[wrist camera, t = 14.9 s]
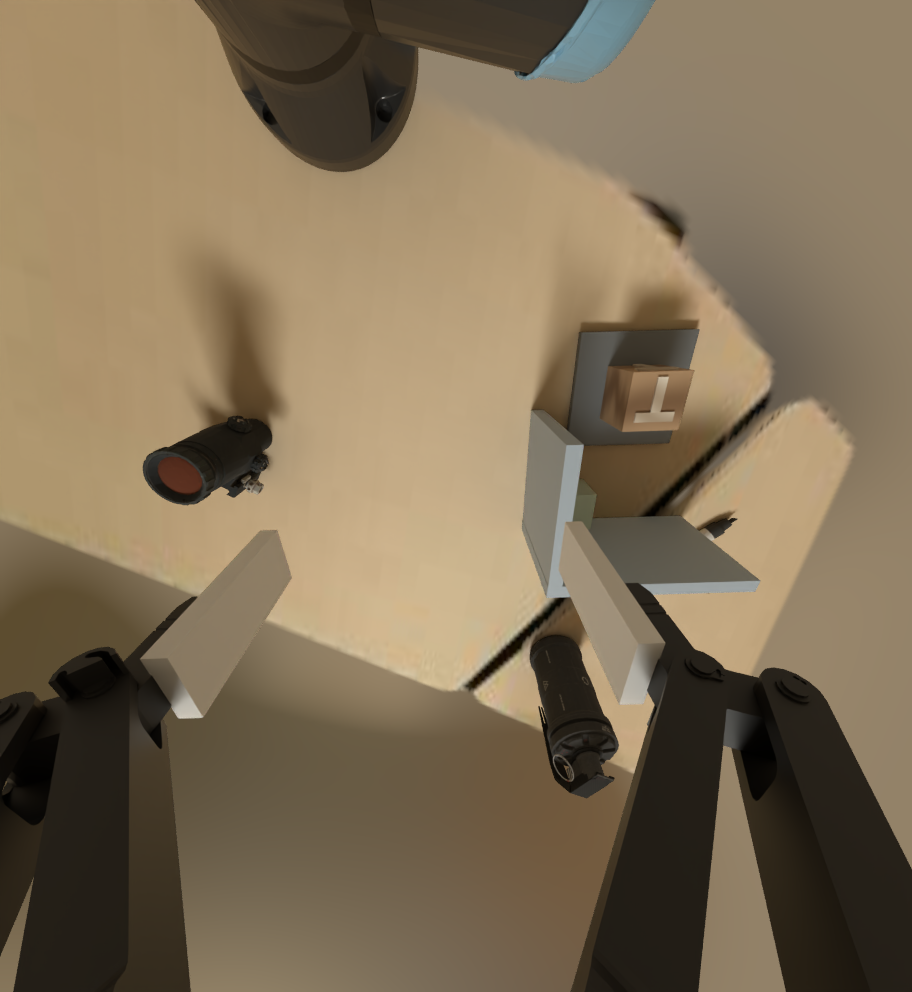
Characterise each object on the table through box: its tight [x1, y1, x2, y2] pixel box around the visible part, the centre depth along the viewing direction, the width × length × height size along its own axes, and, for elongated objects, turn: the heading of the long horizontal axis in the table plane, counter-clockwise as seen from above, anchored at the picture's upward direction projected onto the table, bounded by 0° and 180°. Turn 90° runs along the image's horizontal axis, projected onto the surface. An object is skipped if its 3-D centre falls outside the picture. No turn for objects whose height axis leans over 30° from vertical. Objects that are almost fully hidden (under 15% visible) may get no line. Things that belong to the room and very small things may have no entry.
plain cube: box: [572, 479, 597, 529], centre depth 45 cm, size 5×5×5 cm
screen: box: [522, 410, 760, 598], centre depth 39 cm, size 17×23×14 cm
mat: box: [567, 329, 700, 446], centre depth 40 cm, size 13×13×1 cm
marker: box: [700, 518, 737, 541], centre depth 50 cm, size 15×2×2 cm, turn 132°
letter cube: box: [600, 364, 694, 432], centre depth 37 cm, size 6×6×6 cm
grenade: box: [530, 636, 619, 798], centre depth 52 cm, size 9×11×20 cm
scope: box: [143, 416, 272, 505], centre depth 36 cm, size 8×14×10 cm
